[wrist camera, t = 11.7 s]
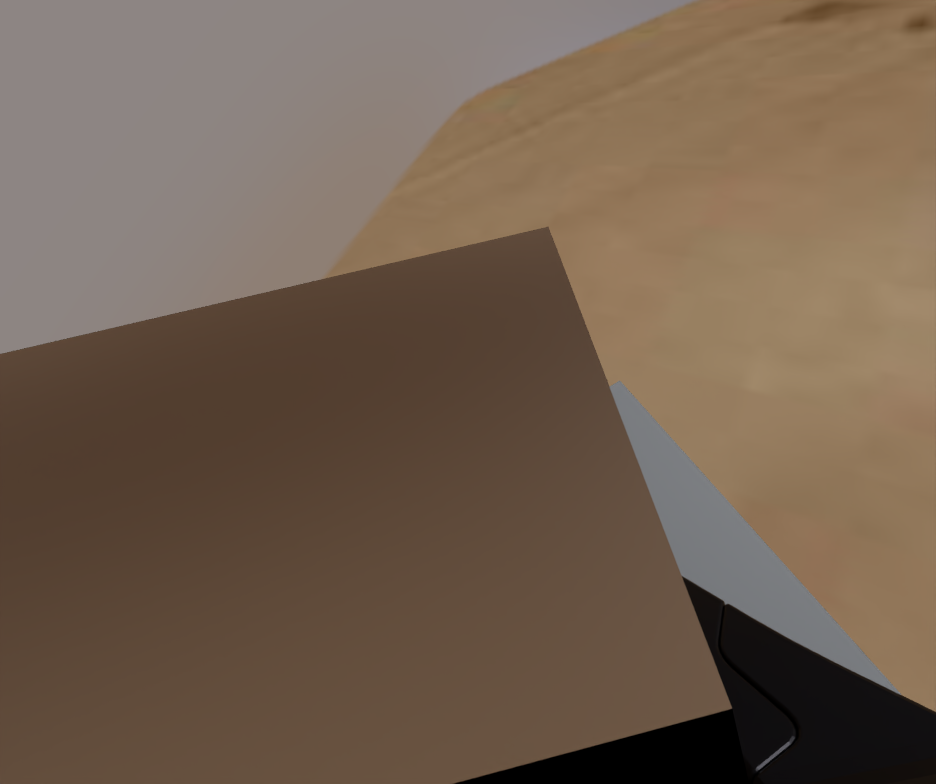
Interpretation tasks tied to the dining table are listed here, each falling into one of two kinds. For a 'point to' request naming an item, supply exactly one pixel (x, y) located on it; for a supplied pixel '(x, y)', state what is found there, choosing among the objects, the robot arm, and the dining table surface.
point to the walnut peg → (345, 546)
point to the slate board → (729, 546)
